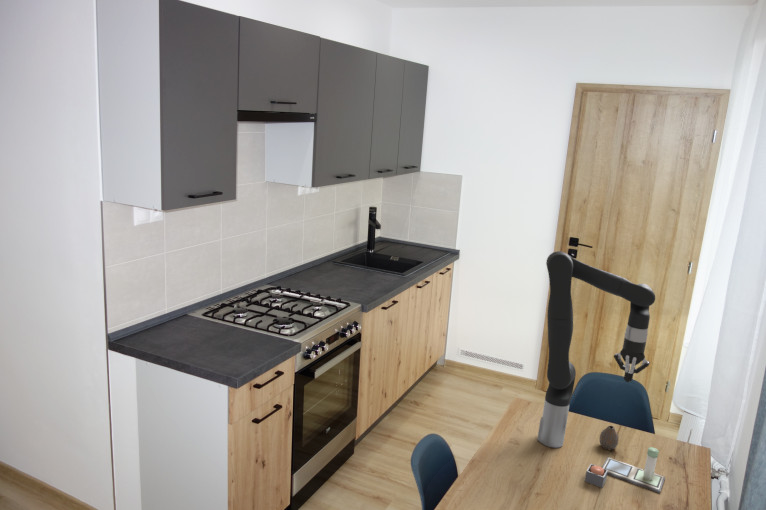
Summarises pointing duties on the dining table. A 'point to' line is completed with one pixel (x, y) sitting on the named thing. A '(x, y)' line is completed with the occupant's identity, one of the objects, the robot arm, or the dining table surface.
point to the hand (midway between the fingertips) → (627, 381)
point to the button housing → (595, 477)
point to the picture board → (633, 474)
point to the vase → (609, 438)
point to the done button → (597, 470)
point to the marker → (650, 463)
